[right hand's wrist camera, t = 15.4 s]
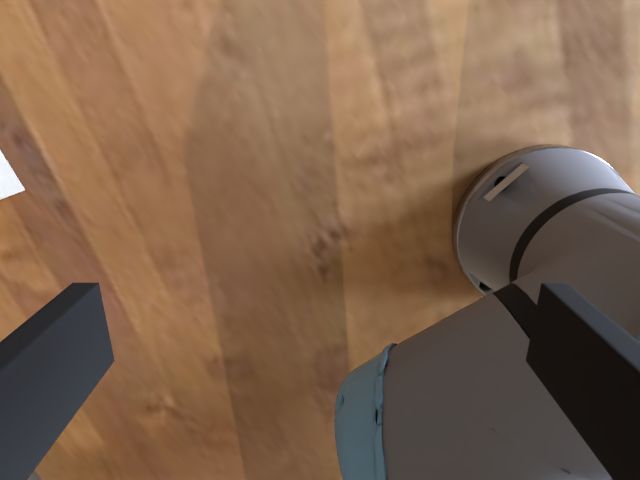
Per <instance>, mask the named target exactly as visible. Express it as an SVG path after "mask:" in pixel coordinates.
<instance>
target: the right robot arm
mask: <svg viewBox="0 0 640 480" xmlns="http://www.w3.org/2000/svg"><path fill="white" fill-rule="evenodd" d="M452 243H453V250H454V253H455V257H456V259H457V262H458V264H459V266H460V268H461V270H462V271H463V272H464V274H465V275H466V277H467V278H468V279H469V281H470V282H471V283H472V284H473V285H474V287H475V288H476V289H478V290H479V291H480V292H481V293H482V294H484V295H485V297H483V298H481V299H479V300H478V301H476V302H474V303H472V304H470V305H468V306H467V307H465V308H463V309H461V310H459V311H458V312H456V313H454V314H452V315H450V316H448V317H447V318H445V319H443V320H441V321H439V322H438V323H436V324H434V325H432V326H430V327H428V328H427V329H425V330H423V331H421V332H419V333H418V334H416V335H414V336H412V337H410V338H408V339H407V340H405V341H403V342H401V343H399V344H393V343H392V344H390V345H388V346H387V347H385V349H384V350H383V352H382V353H380V354H379V355H377V356H375V357H374V358H372V359H371V360H369V361H367V362H366V363H364V364H362V365H361V366H359V367H358V368H356V369H354V370H353V371H352V372H351V373H349V374H348V376H347V377H346V378H345V379H344V381H343V383H342V385H341V387H340V389H339V392H338V395H337V400H336V410H335V414H336V416H335V438H336V447H337V454H338V459H339V464H340V470H341V474H342V478H343V480H611V479H613V480H640V196H639V195H636V194H635V193H634V192H633V191H632V190H631V189H630V187H629V186H628V185H627V184H626V183H625V182H624V181H623V180H622V179H621V177H620V176H619V175H618V173H617V172H616V171H615V170H614V169H613V168H612V167H611V166H610V165H608V164H607V163H606V162H605V161H603V160H602V159H600V158H599V157H597V156H595V155H593V154H591V153H588V152H585V151H582V150H578V149H574V148H571V147H567V146H561V145H538V146H532V147H528V148H524V149H521V150H518V151H515V152H513V153H510V154H508V155H506V156H504V157H502V158H501V159H499V160H497V161H496V162H494V163H493V164H491V165H490V166H489V167H488V168H486V169H485V170H484V171H483V172H482V173H481V174H480V175H479V176H478V177H477V178H476V179H475V180H474V181H473V182H472V184H471V185H470V186H469V188H468V189H467V191H466V192H465V194H464V195H463V197H462V199H461V201H460V203H459V205H458V208H457V211H456V214H455V218H454V222H453V229H452ZM113 362H114V356H113V351H112V346H111V341H110V336H109V331H108V326H107V322H106V317H105V312H104V307H103V302H102V297H101V292H100V287H99V283H72V284H71V285H70V286H68V287H67V288H66V289H65V290H63V291H62V292H61V293H60V294H59V295H57V296H56V297H55V298H54V299H52V300H51V301H50V302H49V303H48V304H46V305H45V306H44V307H43V308H41V309H40V310H39V311H38V312H37V313H35V314H34V315H33V316H32V317H30V318H29V319H28V320H27V321H26V322H24V323H23V324H22V325H21V326H19V327H18V328H17V329H16V330H15V331H13V332H12V333H11V334H10V335H8V336H7V337H6V338H5V339H4V340H2V341H1V342H0V480H27V479H28V478H29V476H30V475H31V474H32V472H33V471H34V470H35V468H36V467H37V465H38V464H39V463H40V461H41V460H42V459H43V457H44V456H45V455H46V453H47V452H48V450H49V449H50V448H51V446H52V445H53V444H54V442H55V441H56V440H57V438H58V437H59V435H60V434H61V433H62V431H63V430H64V429H65V427H66V426H67V425H68V423H69V422H70V420H71V419H72V418H73V416H74V415H75V414H76V412H77V411H78V410H79V408H80V407H81V406H82V404H83V403H84V401H85V400H86V399H87V397H88V396H89V395H90V393H91V392H92V391H93V389H94V388H95V386H96V385H97V384H98V382H99V381H100V380H101V378H102V377H103V376H104V374H105V373H106V371H107V370H108V369H109V367H110V366H111V365H112V363H113Z"/></svg>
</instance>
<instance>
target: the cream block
mask: <svg viewBox="0 0 640 480" xmlns="http://www.w3.org/2000/svg"><path fill="white" fill-rule="evenodd" d="M22 191H25V189H24V187H23V186H22V184H21V183H20V181H19V179H18V178H17V176H16V174H15V173H14V171H13V170H12V168H11V166H10V165H9V163H8V162H7V160H6V158H5V157H4V155H3V154H2V152H1V150H0V200H2V199H4V198H7V197H9V196H12V195H14V194H17V193H19V192H22Z"/></svg>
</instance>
